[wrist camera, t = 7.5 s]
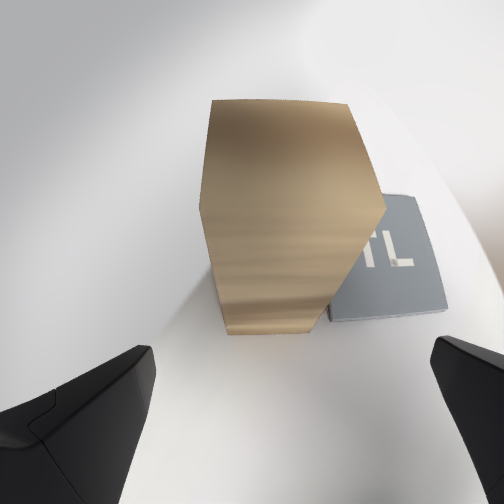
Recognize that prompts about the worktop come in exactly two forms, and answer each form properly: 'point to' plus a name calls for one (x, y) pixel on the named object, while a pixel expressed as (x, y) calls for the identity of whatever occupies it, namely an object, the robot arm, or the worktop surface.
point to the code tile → (392, 270)
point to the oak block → (284, 209)
